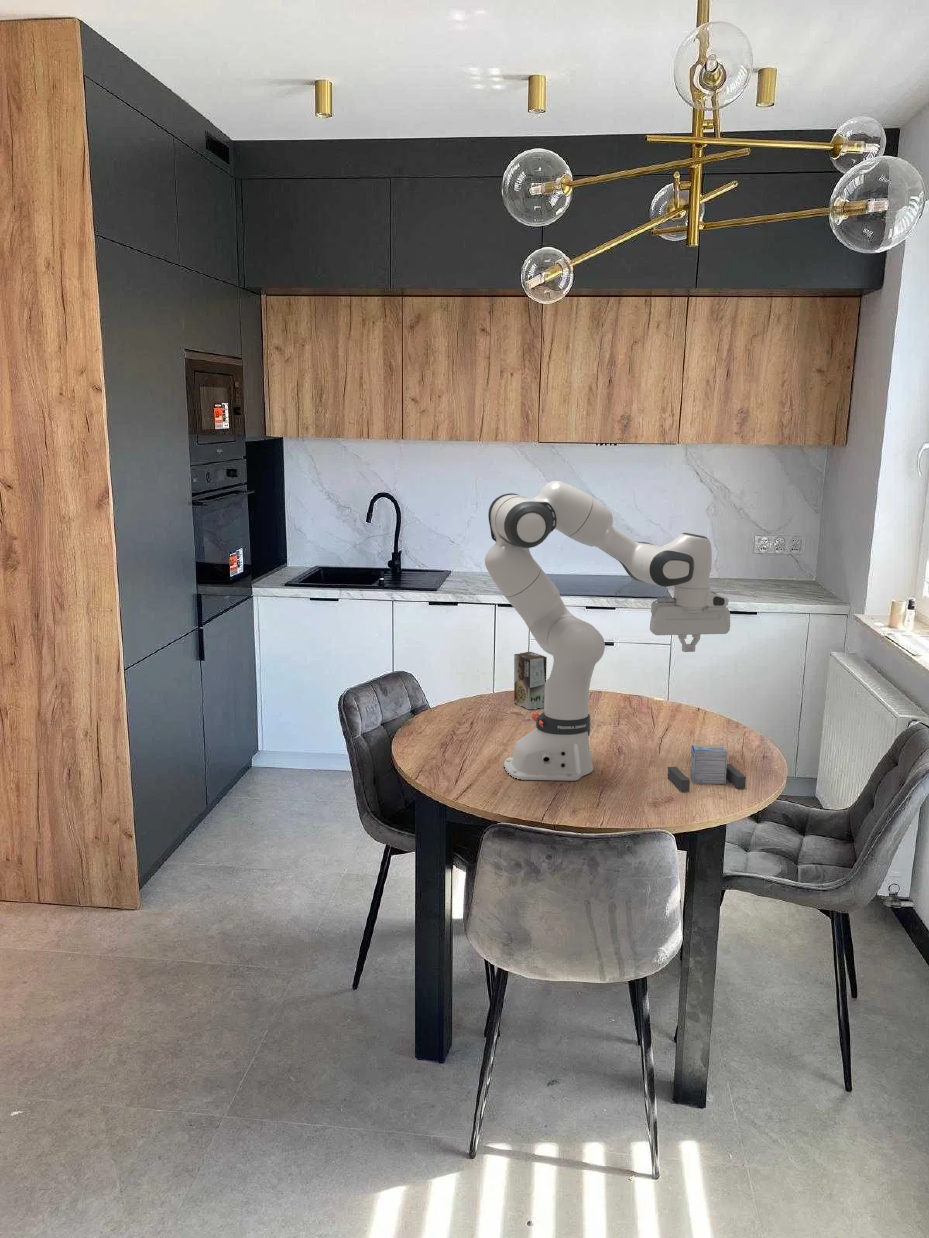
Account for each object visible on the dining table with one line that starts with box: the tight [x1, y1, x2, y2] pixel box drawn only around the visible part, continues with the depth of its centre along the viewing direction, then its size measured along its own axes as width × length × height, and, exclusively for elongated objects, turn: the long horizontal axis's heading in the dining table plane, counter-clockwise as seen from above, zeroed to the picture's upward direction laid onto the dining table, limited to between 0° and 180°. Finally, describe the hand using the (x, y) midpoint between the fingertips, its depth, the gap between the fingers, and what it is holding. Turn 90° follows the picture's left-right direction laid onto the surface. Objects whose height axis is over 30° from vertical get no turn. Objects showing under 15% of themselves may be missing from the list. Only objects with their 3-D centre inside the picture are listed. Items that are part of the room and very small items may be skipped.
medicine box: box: [689, 744, 729, 785], centre depth 228 cm, size 8×4×9 cm, turn 87°
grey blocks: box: [667, 763, 747, 793], centre depth 227 cm, size 16×9×3 cm, turn 98°
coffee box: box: [513, 651, 548, 710], centre depth 290 cm, size 9×6×16 cm
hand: (688, 651), depth 238 cm, fingers closed
